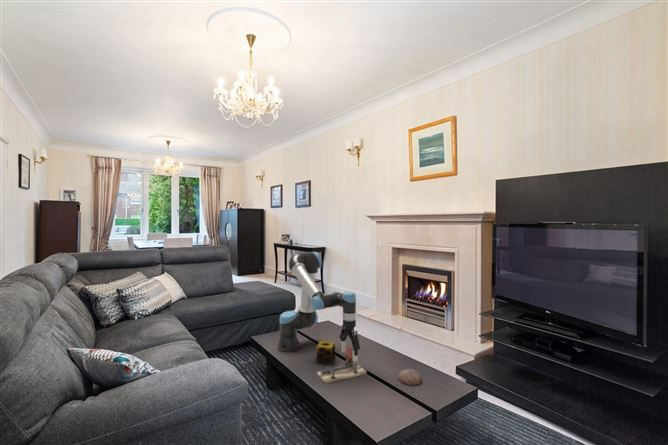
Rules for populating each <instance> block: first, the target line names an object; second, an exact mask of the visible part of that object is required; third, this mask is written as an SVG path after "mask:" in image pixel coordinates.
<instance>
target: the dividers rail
mask: <svg viewBox="0 0 668 445" xmlns="http://www.w3.org/2000/svg"><path fill="white" fill-rule="evenodd" d="M358 365H359V364H358V362H354V366H358ZM351 367H352V366H351V365H349V366H347V365H346V364H342V365H340V366H339V365H338V366H334V367H331V368H330V366H326V367H325V369H322V370H320V371H321V374H326V373H331V374H332V378H334V375H335V373H334V372H335V371H339V370H343V369H347V368H351Z"/></svg>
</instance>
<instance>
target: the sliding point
mask: <svg viewBox="0 0 668 445" xmlns="http://www.w3.org/2000/svg"><path fill="white" fill-rule="evenodd" d="M354 363H355V361H353V345H346V352H345V360H344V365H347V366H349V365H351V366H352V367H353V368H354V369H355V372H356V370H357V367H356V366H354Z"/></svg>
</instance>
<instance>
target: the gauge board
mask: <svg viewBox="0 0 668 445" xmlns="http://www.w3.org/2000/svg"><path fill="white" fill-rule="evenodd" d="M356 367H357V370H356V372H355V369H354V368H353V367H351V368H347V369H343V370H339V371H335V372H334V373H335V375H334V378H332V374H331V373H326V374H321V370H320V371H317V376H318V377H319V378H320V379H321V380H322V381H323V383H325V384H326V385H328V384H331V383H336V382H340V381H344V380H347V379H351V378H354V377H359V376H362V375H363V376H364V375H367V373H368V372H367V370H366V369H364V368H363V367H362V366H360V365H359V364H358V366H356Z"/></svg>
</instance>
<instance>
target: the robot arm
mask: <svg viewBox="0 0 668 445" xmlns="http://www.w3.org/2000/svg"><path fill="white" fill-rule="evenodd" d="M322 264H323V260H322V257H321V255H320V253H319V252H317V251H308V252H306V251H305V252H296V253H294V254H293V255H291V257H290V259H289V260H288V268H289V271H290V273H291V274H292V275H293V276H295V278H296V279H297V280H298V281H299V284H300V285H301V293H300V294H301V296H300V305H299V307H298V310H297V311H296V310H287V311H284V312H282V313H281V314H280V315H279V336H278V341H277V343H276V344H277V345H276V346H277V348H276V349H277V350H278V351H281V352H293V351H296V350H298V349H300V346H301V345H300V340H299V336H298V331H299V330H304V329H309V328H312V327H315V326H316V325H317V323H318V319H319V317H318V316H319V315H318V313H317V311H318V310H320V311H321V310H324V309H325V310H326V309H329V308H336V307H340V308H342V319H343V320H342V325H341V331H340V335H339V339H340V341H341V353H346V346H347V338H348V337H349V339H350V341H351V346H352V347H353V361H354V362H358V360H359V359H358V358H359V357H358V355H359V354H358V352H359V350H361V346H360V342H359V337H358V330H355V327H356V326H357V323H356V322H357V320H356V319H357V311H356V309H357V306H356V305H357V299H356V298H357V297H356V293H355V292H354V291H344V292H343V293H342V292H340V291H332V292H331V293H328V294H325V293H323V292H322V290H321V289H320V287H319V286H318V284H317V283H316V275H317V274H318V270H319V269H320V268H322Z"/></svg>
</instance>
